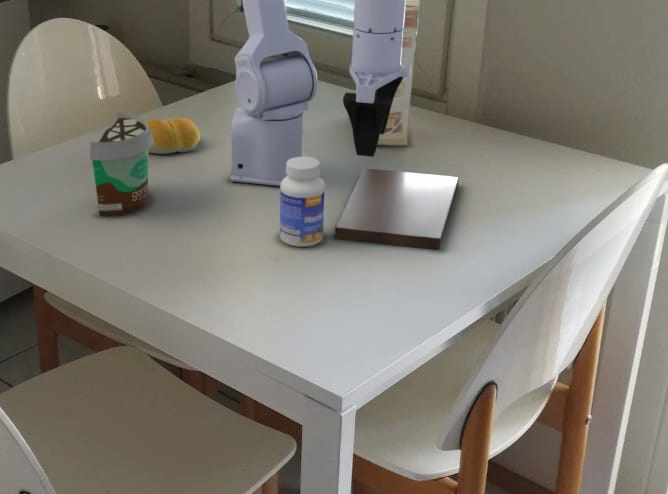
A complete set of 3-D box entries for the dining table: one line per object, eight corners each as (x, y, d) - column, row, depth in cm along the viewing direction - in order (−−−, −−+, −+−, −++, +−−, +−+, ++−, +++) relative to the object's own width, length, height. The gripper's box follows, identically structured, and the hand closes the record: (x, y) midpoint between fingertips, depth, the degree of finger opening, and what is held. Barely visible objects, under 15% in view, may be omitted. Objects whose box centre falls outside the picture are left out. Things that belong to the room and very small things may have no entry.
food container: (142, 224, 140) (137, 147, 134) (96, 220, 141) (88, 143, 135) (167, 186, 150) (163, 113, 144) (123, 183, 151) (118, 110, 145)
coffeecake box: (408, 146, 162) (420, 5, 150) (360, 146, 162) (368, 5, 150) (399, 111, 173) (409, -22, 161) (353, 111, 174) (360, -22, 162)
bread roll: (207, 151, 160) (206, 123, 158) (147, 159, 158) (145, 131, 156) (190, 132, 167) (189, 105, 164) (132, 139, 164) (131, 112, 162)
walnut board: (334, 238, 137) (335, 227, 136) (363, 178, 152) (363, 167, 151) (439, 250, 134) (440, 238, 133) (457, 187, 149) (459, 176, 148)
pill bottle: (309, 251, 134) (311, 174, 128) (271, 241, 136) (272, 165, 130) (330, 235, 138) (334, 159, 132) (293, 225, 140) (295, 150, 134)
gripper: (404, 47, 119) (394, 168, 128) (421, 12, 131) (411, 126, 139) (340, 42, 121) (335, 163, 129) (362, 8, 132) (356, 121, 140)
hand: (370, 143), depth 134 cm, fingers open, 7 cm apart
